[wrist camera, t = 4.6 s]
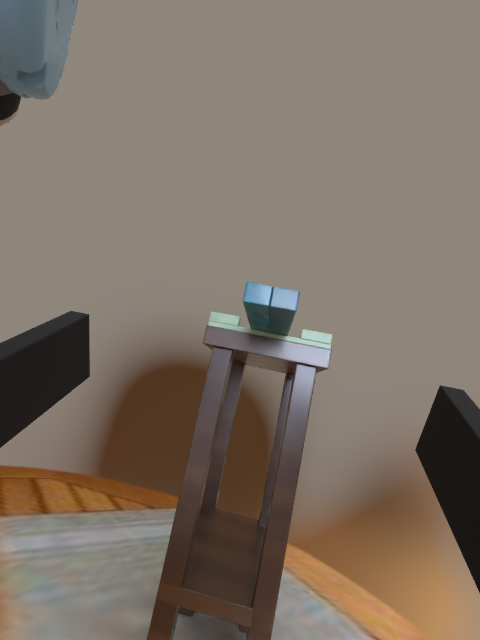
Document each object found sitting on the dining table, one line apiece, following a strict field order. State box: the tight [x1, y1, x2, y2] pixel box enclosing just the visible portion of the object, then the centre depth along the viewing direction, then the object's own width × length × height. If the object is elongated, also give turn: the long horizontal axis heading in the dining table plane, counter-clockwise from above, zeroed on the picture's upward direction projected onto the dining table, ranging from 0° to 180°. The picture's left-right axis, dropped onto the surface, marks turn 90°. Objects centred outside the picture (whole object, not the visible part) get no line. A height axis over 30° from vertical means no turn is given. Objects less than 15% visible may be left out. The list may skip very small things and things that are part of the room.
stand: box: [147, 325, 331, 640], centre depth 33 cm, size 18×10×30 cm, turn 175°
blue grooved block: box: [243, 282, 300, 336], centre depth 31 cm, size 24×3×1 cm, turn 175°
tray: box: [208, 312, 332, 349], centre depth 36 cm, size 18×10×1 cm, turn 175°
